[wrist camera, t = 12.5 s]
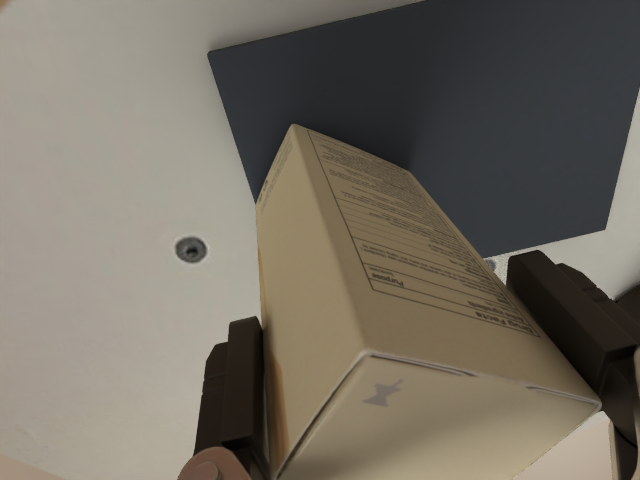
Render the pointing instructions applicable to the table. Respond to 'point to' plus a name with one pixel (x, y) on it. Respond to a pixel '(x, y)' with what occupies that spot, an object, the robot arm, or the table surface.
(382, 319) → the cosmetic box
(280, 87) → the mat
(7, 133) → the table surface
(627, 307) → the supplement bottle
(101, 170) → the table surface
